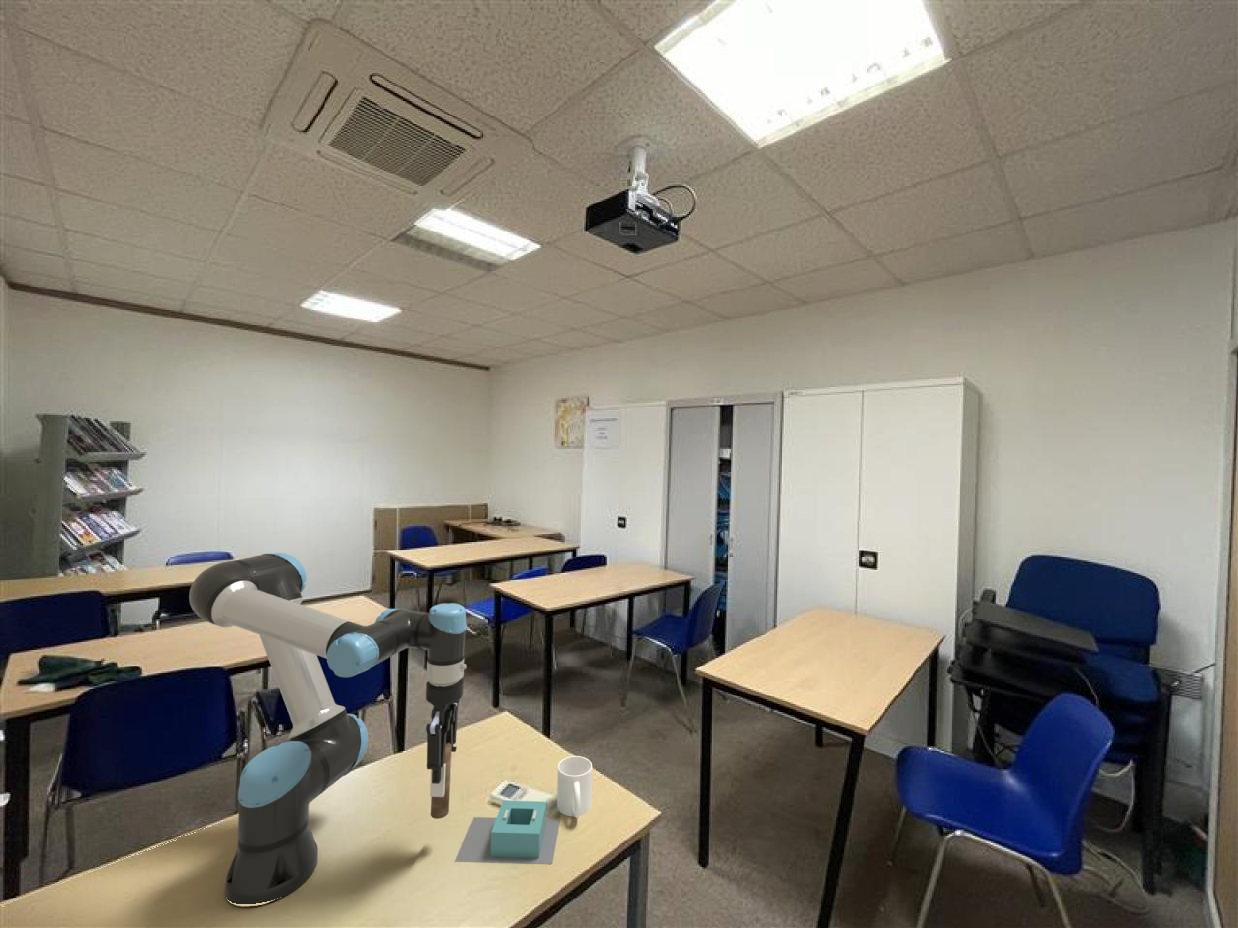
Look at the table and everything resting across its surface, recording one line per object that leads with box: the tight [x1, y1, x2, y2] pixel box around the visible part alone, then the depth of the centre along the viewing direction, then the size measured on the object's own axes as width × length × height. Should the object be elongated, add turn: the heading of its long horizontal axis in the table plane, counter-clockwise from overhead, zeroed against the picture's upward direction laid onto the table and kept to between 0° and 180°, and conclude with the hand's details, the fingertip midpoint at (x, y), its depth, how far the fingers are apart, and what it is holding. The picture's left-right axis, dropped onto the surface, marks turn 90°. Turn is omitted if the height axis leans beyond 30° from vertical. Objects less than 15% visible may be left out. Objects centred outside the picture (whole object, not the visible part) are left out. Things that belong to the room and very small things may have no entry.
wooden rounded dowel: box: [430, 742, 452, 820], centre depth 106 cm, size 4×4×14 cm
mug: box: [556, 755, 593, 819], centre depth 119 cm, size 12×8×10 cm
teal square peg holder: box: [491, 799, 548, 858], centre depth 109 cm, size 10×10×6 cm
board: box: [454, 816, 561, 865], centre depth 109 cm, size 20×13×1 cm, turn 89°
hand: (440, 789), depth 106 cm, fingers closed on wooden rounded dowel, 3 cm apart
